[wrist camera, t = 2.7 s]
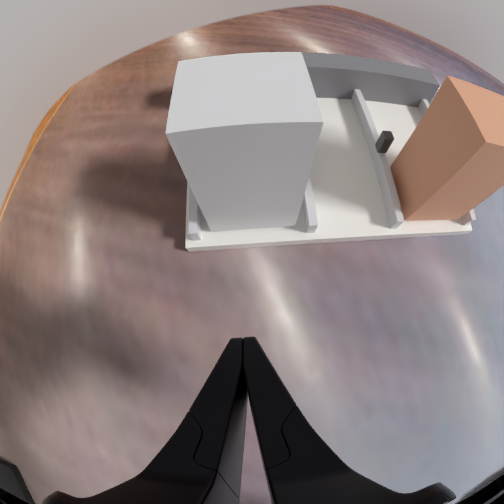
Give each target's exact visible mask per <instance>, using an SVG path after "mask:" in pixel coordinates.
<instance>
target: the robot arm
mask: <svg viewBox="0 0 504 504" xmlns="http://www.w3.org/2000/svg"><path fill="white" fill-rule="evenodd" d="M248 397H249V402H250V407H251V412H252V416H253V421H254V426H255V431H256V435H257V440H258V444H259V449H260V454H261V458H262V462H263V467H264V471H265V476H266V480H267V484H268V488H269V493H270V497H271V501H272V504H446V503H448V502H450V501H452V500H454V499H455V498H456V496H455V494H454V493H453V492H452V491H451V490H450V489H449V488H447V487H446V486H444V485H443V484H442V483H436V484H433V485H430V486H428V487H426V488H423V489H421V490H419V491H416V492H413V493H406V494H404V493H398V492H395V491H392V490H390V489H388V488H386V487H384V486H382V485H380V484H378V483H376V482H374V481H372V480H370V479H368V478H366V477H364V476H362V475H360V474H359V473H357V472H355V471H354V470H352V469H351V468H350V467H348V466H347V465H346V464H345V463H344V462H343V461H342V460H341V459H340V458H339V457H338V456H337V455H336V454H335V453H334V452H333V451H332V450H331V449H330V447H329V446H328V445H327V444H326V443H325V442H324V441H323V440H322V439H321V438H320V436H319V435H318V434H317V433H316V432H315V430H314V429H313V428H312V427H311V426H310V424H309V423H308V421H307V420H306V418H305V417H304V416H303V414H302V413H301V411H300V409H299V408H298V406H296V403H295V402H294V400H293V399H292V397H291V395H290V394H289V392H288V390H287V389H286V387H285V386H284V384H283V382H282V381H281V379H280V377H279V376H278V374H277V372H276V371H275V369H274V368H273V366H272V364H271V363H270V361H269V359H268V358H267V356H266V354H265V353H264V351H263V349H262V347H261V346H260V344H259V342H258V341H257V339H256V338H255V337H244V338H231V339H230V341H229V342H228V344H227V346H226V348H225V349H224V351H223V353H222V355H221V356H220V358H219V360H218V362H217V363H216V365H215V367H214V369H213V370H212V372H211V374H210V375H209V377H208V379H207V381H206V382H205V384H204V386H203V387H202V389H201V391H200V393H199V394H198V396H197V398H196V399H195V401H194V403H193V404H192V406H191V408H190V409H189V411H190V412H188V413H187V414H186V416H185V418H184V419H183V421H182V422H181V424H180V426H179V427H178V429H177V430H176V432H175V433H174V434H173V436H172V437H171V438H170V439H169V441H168V442H167V443H166V444H165V446H164V447H163V448H162V449H161V451H160V452H159V453H158V454H157V455H156V457H155V458H154V459H153V460H152V461H151V462H150V464H149V465H148V466H147V467H146V468H145V469H144V470H143V471H142V472H141V473H140V474H138V475H137V476H136V477H134V478H132V479H130V480H128V481H126V482H124V483H122V484H120V485H118V486H115V487H113V488H111V489H109V490H106V491H104V492H102V493H99V494H97V495H95V496H91V497H87V498H77V497H73V496H70V495H68V494H65V493H63V492H60V491H56V492H54V493H53V494H51V495H49V496H48V497H47V498H45V500H44V501H43V502H42V504H239V498H240V486H241V475H242V463H243V451H244V439H245V427H246V414H247V402H248ZM0 504H31V503H29V502H27V501H25V500H23V499H22V498H20V497H18V496H16V495H14V494H12V493H10V492H9V491H7V490H5V489H4V488H2V487H0ZM455 504H504V473H503V474H502V475H500V476H499V477H497V478H496V479H494V480H493V481H491V482H490V483H488V484H487V485H485V486H484V487H482V488H481V489H479V490H477V491H476V492H474V493H473V494H471V495H469V496H468V497H466V498H464V499H463V500H461V501H459V502H457V503H455Z"/></svg>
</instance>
